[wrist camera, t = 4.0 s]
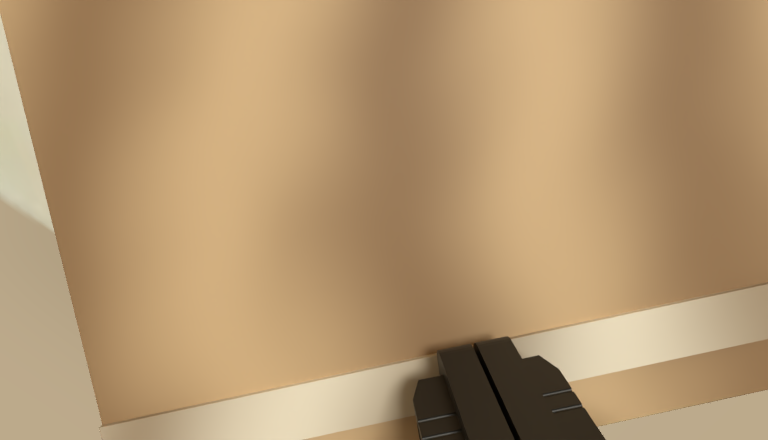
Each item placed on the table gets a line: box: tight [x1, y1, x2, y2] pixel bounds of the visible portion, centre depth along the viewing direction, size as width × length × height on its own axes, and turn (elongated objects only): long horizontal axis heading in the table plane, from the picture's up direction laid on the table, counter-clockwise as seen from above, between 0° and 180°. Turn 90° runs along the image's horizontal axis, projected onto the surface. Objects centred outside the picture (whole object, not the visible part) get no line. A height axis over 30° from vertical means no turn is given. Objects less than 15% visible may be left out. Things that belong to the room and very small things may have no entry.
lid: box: [0, 0, 768, 440], centre depth 12 cm, size 16×14×1 cm
